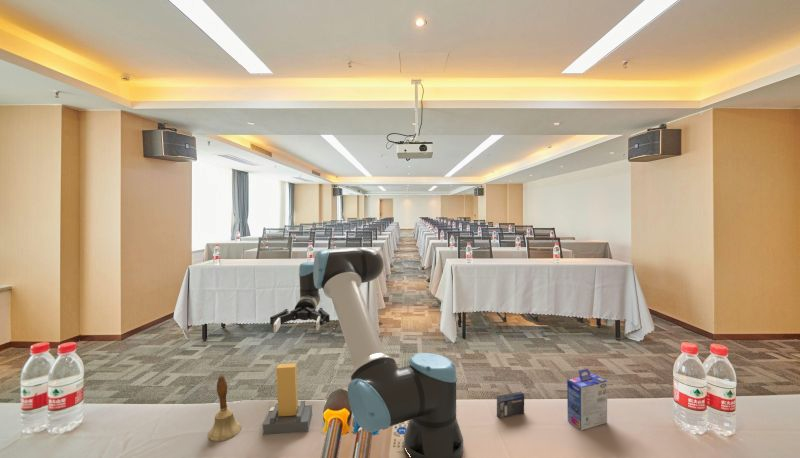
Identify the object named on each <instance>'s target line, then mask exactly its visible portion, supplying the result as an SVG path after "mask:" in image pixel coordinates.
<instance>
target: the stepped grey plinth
mask: <svg viewBox="0 0 800 458" xmlns="http://www.w3.org/2000/svg"><path fill="white" fill-rule="evenodd" d="M312 417H313V404H307V405H306V400H304V401H303V400H301V401H300V403H299V405H298V412H297V415H293V416H279V417H278V402H276V404H275V406H274V407H273V406H272V407H269V411H268V413H267V414H266V416H265V419H264V421H263V423H262V435H263V436H270V435H283V434H284V435H285V434H295V433H308V432H309V430H310V427H311V423H312V422H311V421H312Z"/></svg>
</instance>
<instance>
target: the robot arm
mask: <svg viewBox="0 0 800 458" xmlns="http://www.w3.org/2000/svg"><path fill="white" fill-rule="evenodd" d="M315 253H316V254H315V256H314V259H313V261H305V262H302V263H300V265H299V269H298V273H299V274H298V276H299V278H298V279H299V299H298V301H297V302H296V305H295V307H294V309H293V310H290V311H289V309H287V308H286V309H283V310H282V311H280V312H278V313H277V314H274V315H272V316H270V318H269V321H270V322H269V324H270V325H271V326H272V327H273V333H274V334H275V333H277V332H278V330H279V329H280V327H281V325H282V324H284V323H285V324H286V323H287V322H290V321H293V322H294V321H297V320H301V321H312V320H313V321H314V322H315V330H316V331H319V330H320V326H323V325H324V323H325V322H326V323H330V322H331V321H330V320H331V319H330V314H329V313H328V312H327V311H326V310H324V309H323V308H322V307H319V309H317V308H318V306H319V304H320V302H321V294H320V291H319V290H321V289H322V291H323V293H324V295H325V296H326V297H328V298H329V299H331V300H332V304H333V307H334V310H335V311H334V312H335V313H336V317H337V320H338V322H339V325H340V328H341V332H342V335H343V338H344V342H345V344H346V348H347V350H348V352H349V357H350V360H351V363H352V366H353V370H352V372H351V375H350V380H351V381H350V382H349V383H348V385H347V398H348V404H349V407H350V411H351V413H352V415H353V417H354V419H355V422H356V423H357V424H358V426H359V427H360V428H361V429H363V430H364V431H366V432H367V433H368V432H369V433H372V432H373V433H374V432H376V431H377V432H378V431H380V430H387V429H389V428H390V427H393V426H396V425H400V424H402V423H404V422H408V423H407V426H406V429H405V432H404V435H403V447H404V446H405V448H406V450H407V452H408V453H409V454H410V456H411V458H461V457H462V455H463V453H464V438H463V437H464V436H463V434H462V431H461V429H460V425H459V422H458V419H457V382H458V377H457V369H456V365H455V364H454V362H453V361H452V360H451V359H449V358H448V357H446V356H443V355H441V354H437V353H432V352H431V353H429V352H420V353H415V354H413V355H412V356H410V358H409V361H408V364H409V365H407V366H404V367H398V365H397V362H396V359H395V358H393V357H392V356H389V355H387V354H386V352H385V350H384V346H383V344H382V341H381V339H380V336H379V334H378V331H377V328H376V326H375V324H374V321H373V318H372V316H371V314H370V311H369V308H368V306H367V304H366V301H365V299H364V295H363V294H362V291H361V289H360V287H361V285H362V284H365V283H368V282H372V281H373V280H375V279H378V277H380V275H381V274H382V272H383V270H384V264H385V263H384V259H383V257H382V255H381V253H379V252H378V251H377V250H376V249H373V248H372V247H367V246H357V247H356V246H355V247H345V248H344V247H340V248H328V249H322V250H319V251H317V252H315Z"/></svg>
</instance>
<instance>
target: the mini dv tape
mask: <svg viewBox="0 0 800 458" xmlns="http://www.w3.org/2000/svg"><path fill="white" fill-rule="evenodd" d="M523 414H525V394H524V392H522V391H518V392H517V391H516V392H512V393H506V394H501V395H496V417H497V418H499V419H504V418H509V417H514V416H519V415H523Z"/></svg>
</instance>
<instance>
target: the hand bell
mask: <svg viewBox="0 0 800 458" xmlns="http://www.w3.org/2000/svg"><path fill="white" fill-rule="evenodd" d="M216 392H217V396H218V397H219V408H220V409H219V411H217V412H216V413H215V415H214V423H213V425H212V427H211V429H210V430H209V431H208V435H207V437H208V439H209V440H210V441H213V442H224V441H227V440H229V439H232V438H234V437H236V435H238V434H240V432H241V430H242V425H241V423H240V422H239V421H237V420H236V418H235V414H234V410H232V409H231V408H228V404H227V394H228V384H227V380H226V379H225V375H219V376H218V379H217V382H216Z"/></svg>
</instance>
